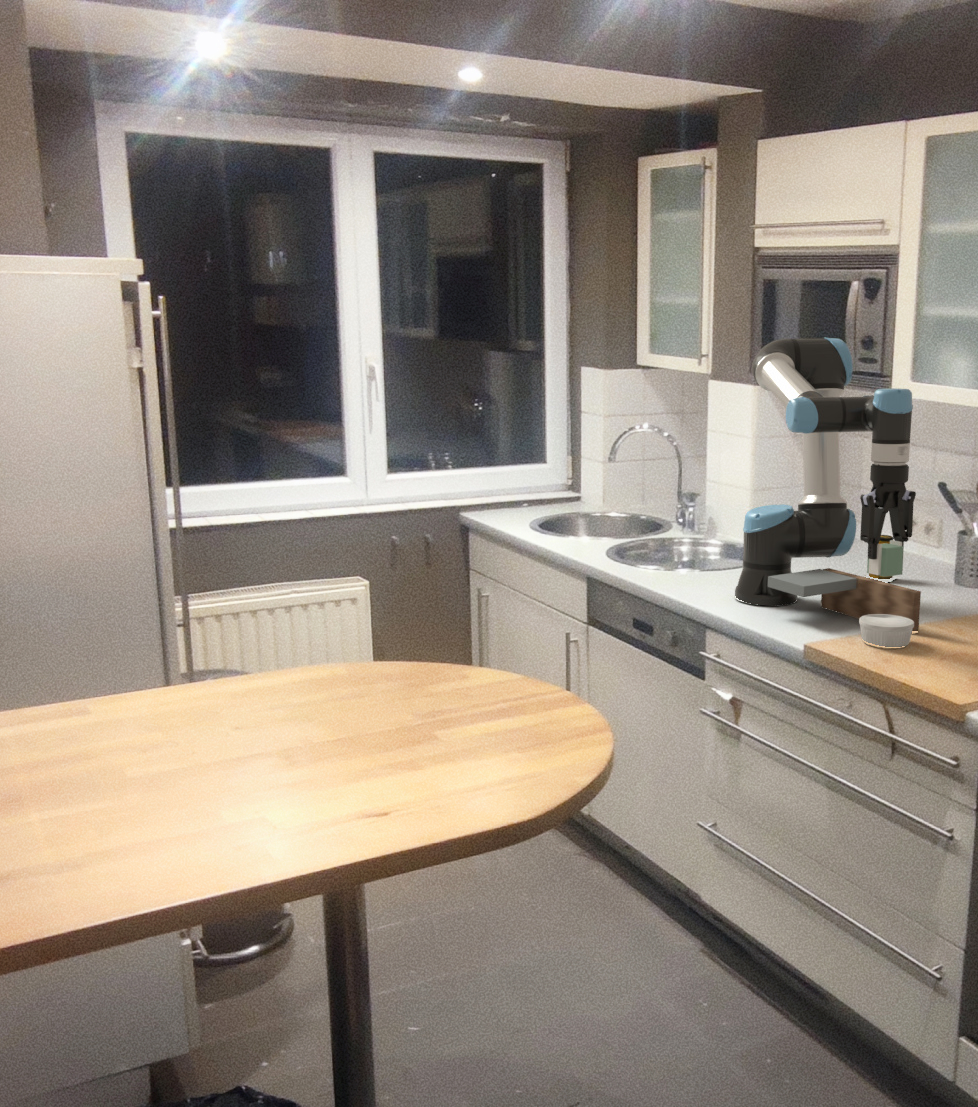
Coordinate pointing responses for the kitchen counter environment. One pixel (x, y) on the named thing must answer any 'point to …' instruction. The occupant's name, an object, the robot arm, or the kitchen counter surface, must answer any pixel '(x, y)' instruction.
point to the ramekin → (886, 629)
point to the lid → (812, 582)
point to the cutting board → (874, 599)
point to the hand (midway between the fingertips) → (884, 572)
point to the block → (891, 560)
